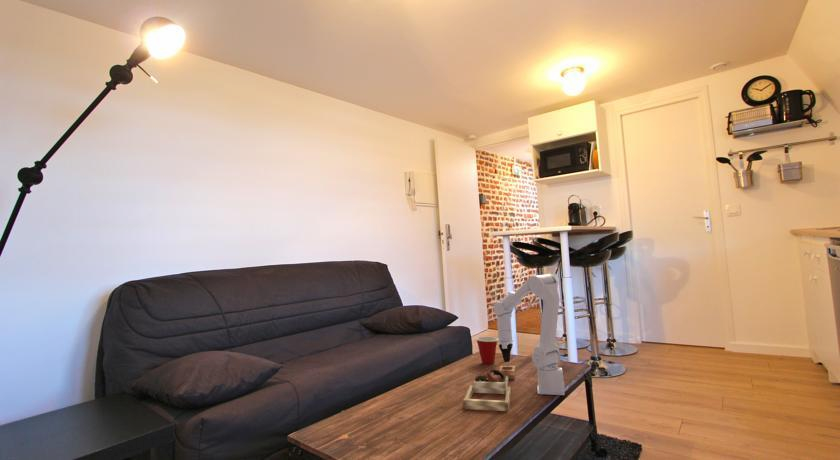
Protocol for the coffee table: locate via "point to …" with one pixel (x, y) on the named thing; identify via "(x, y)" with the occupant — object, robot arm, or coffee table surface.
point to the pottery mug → (490, 378)
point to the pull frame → (496, 386)
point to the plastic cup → (487, 349)
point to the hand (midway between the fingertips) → (506, 361)
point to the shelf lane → (486, 402)
